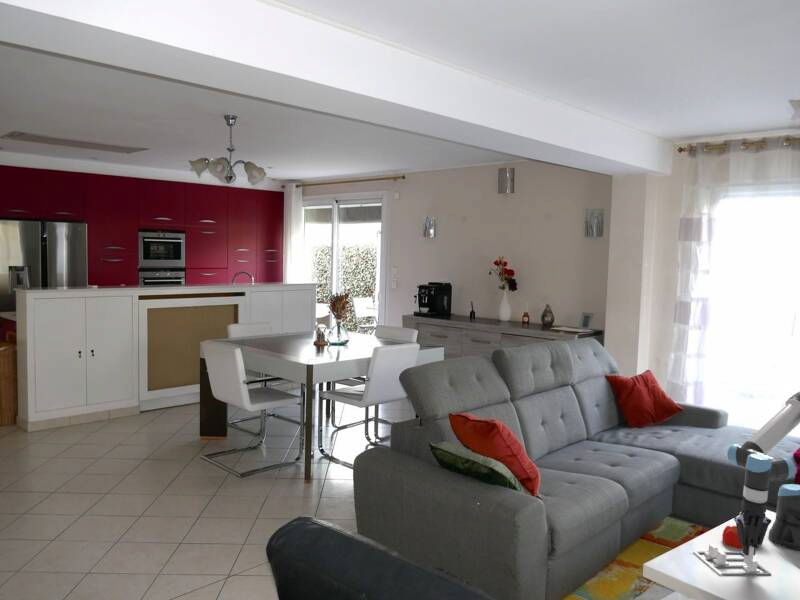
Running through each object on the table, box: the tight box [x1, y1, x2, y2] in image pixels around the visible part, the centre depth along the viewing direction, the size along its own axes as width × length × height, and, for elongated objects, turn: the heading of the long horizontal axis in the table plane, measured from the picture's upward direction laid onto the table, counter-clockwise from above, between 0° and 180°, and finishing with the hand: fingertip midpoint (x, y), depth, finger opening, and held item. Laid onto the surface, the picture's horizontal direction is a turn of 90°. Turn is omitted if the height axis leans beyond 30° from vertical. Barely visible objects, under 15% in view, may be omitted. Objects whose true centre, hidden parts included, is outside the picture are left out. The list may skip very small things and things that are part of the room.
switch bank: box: [692, 550, 772, 577], centre depth 230 cm, size 20×16×2 cm
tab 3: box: [742, 557, 761, 573], centre depth 226 cm, size 4×3×4 cm
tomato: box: [721, 525, 743, 549], centre depth 247 cm, size 9×9×8 cm
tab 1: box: [704, 543, 719, 558], centre depth 235 cm, size 4×3×4 cm
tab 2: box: [712, 550, 730, 565], centre depth 230 cm, size 4×3×4 cm
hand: (747, 563), depth 226 cm, fingers closed
